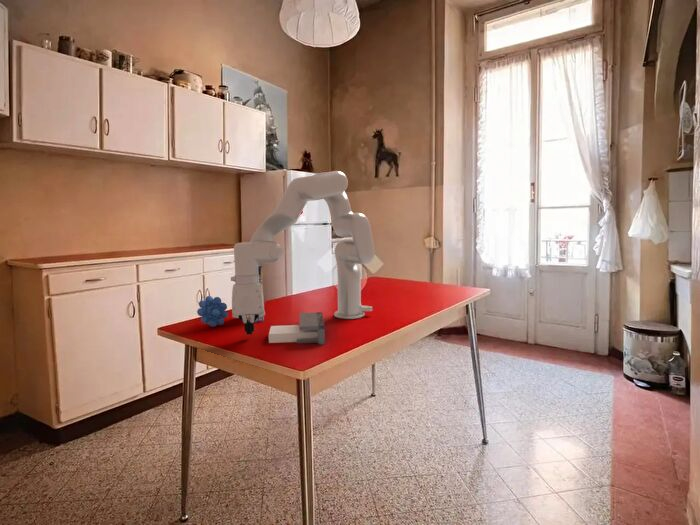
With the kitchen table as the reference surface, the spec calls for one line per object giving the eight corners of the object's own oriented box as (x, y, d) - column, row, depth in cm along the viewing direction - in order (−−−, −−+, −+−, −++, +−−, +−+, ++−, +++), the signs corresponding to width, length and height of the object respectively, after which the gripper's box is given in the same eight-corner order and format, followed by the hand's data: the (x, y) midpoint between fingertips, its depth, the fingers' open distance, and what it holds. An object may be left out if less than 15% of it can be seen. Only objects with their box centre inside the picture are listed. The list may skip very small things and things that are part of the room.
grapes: (202, 332, 142) (200, 299, 140) (195, 328, 147) (193, 296, 145) (233, 326, 149) (231, 294, 148) (225, 322, 154) (224, 292, 153)
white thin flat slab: (317, 332, 140) (317, 324, 139) (318, 340, 130) (317, 332, 130) (271, 334, 138) (271, 326, 138) (268, 343, 129) (268, 334, 128)
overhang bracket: (322, 328, 144) (322, 312, 144) (324, 344, 127) (324, 325, 126) (297, 329, 143) (297, 313, 143) (296, 345, 126) (296, 326, 125)
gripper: (221, 282, 126) (224, 338, 128) (269, 280, 128) (271, 336, 130) (226, 278, 133) (229, 331, 136) (271, 277, 135) (273, 329, 137)
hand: (249, 333), depth 133 cm, fingers closed
